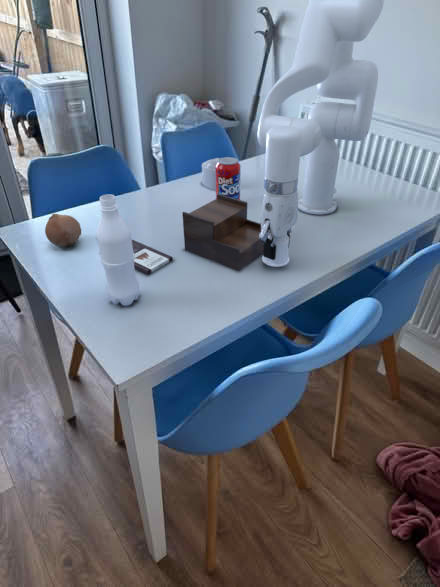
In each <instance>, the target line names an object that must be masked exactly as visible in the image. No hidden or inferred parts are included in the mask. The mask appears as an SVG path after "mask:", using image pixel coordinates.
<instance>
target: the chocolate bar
mask: <svg viewBox="0 0 440 587" xmlns="http://www.w3.org/2000/svg"><path fill="white" fill-rule="evenodd" d="M132 246H133V252H134V255H135V258H134V270H136V271H139V272H141V273H143V274H145V275H147V276H148V275H149V274H152V273H153V272H155V271H157V270H158V269H160V268H162V267H164V266H165V265H167V264H169V263H170V262H172V261H173V256H172V255H169V254H166V253H165V252H162V251H159V250H157V249H155V248H153V247H151V246H148V245H146V244H143V243H141V242H139V241H136V240H135V239H132Z"/></svg>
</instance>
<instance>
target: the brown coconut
mask: <svg viewBox="0 0 440 587" xmlns="http://www.w3.org/2000/svg"><path fill="white" fill-rule="evenodd" d="M44 234H45V237H46V239H47V240H48V241H49V242H50V243H51V244H53V245H54V246H58V247H61V248H62V247H63V248H71V247H73V246H74V245H75V244H77V242H78V241H79V239H80V237H81V236H82V227H81V224H80V222H79V221H78V220H77V219H76V218H75V217H73V216H72V215H67V214H59V213H52V214H51V216H49V217H48V220H47V222H46V224H45V228H44Z"/></svg>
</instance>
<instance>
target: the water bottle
mask: <svg viewBox="0 0 440 587" xmlns="http://www.w3.org/2000/svg"><path fill="white" fill-rule="evenodd" d="M99 203H100V206H99V210H100V211H101V217H100V219H99V222H98V225H97V228H96V233H95V237H96V238H95V239H96V241H97V245H98V249H99V256H100V263H101V265H102V267H103V268H104V269H103V270H104V272H105V276H106V277H105V278H106V284H105V285H106V286H105V287H106V293H107V296H108V298H109V300H110V301H111V302H112V303H113V304H114V305H117V306H118V305H120V304H121V305H122V306H125V307H128V306H130V305H131V304H133V303H134V301H137V300H138V298H139V295H140V282H139V280H138V278H137V274H136V269H135V268H134V258H135V255H134V252H133V246H132V240H133V239H132V231H131V228H130V226H129V225H128V223H127V222H126V221H125V219H124V218H123V217H122V215H121V214H120V212H119V210H118V209H119V205H118V203H117V201H116V196H115V195H114V194H108V193H107V194H103V195H100V197H99Z"/></svg>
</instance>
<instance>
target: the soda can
mask: <svg viewBox="0 0 440 587" xmlns="http://www.w3.org/2000/svg"><path fill="white" fill-rule="evenodd" d="M219 158H220V159H218V162H217V164H216V166H215V172H216V190H215V199H217V194H221V195H224V196H227V197H231V198H234V199H238V200H241V168H242V167H241V164H240V162H239V159H238V158H236V157H232V156H226V157H225V156H224V157H219Z"/></svg>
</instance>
